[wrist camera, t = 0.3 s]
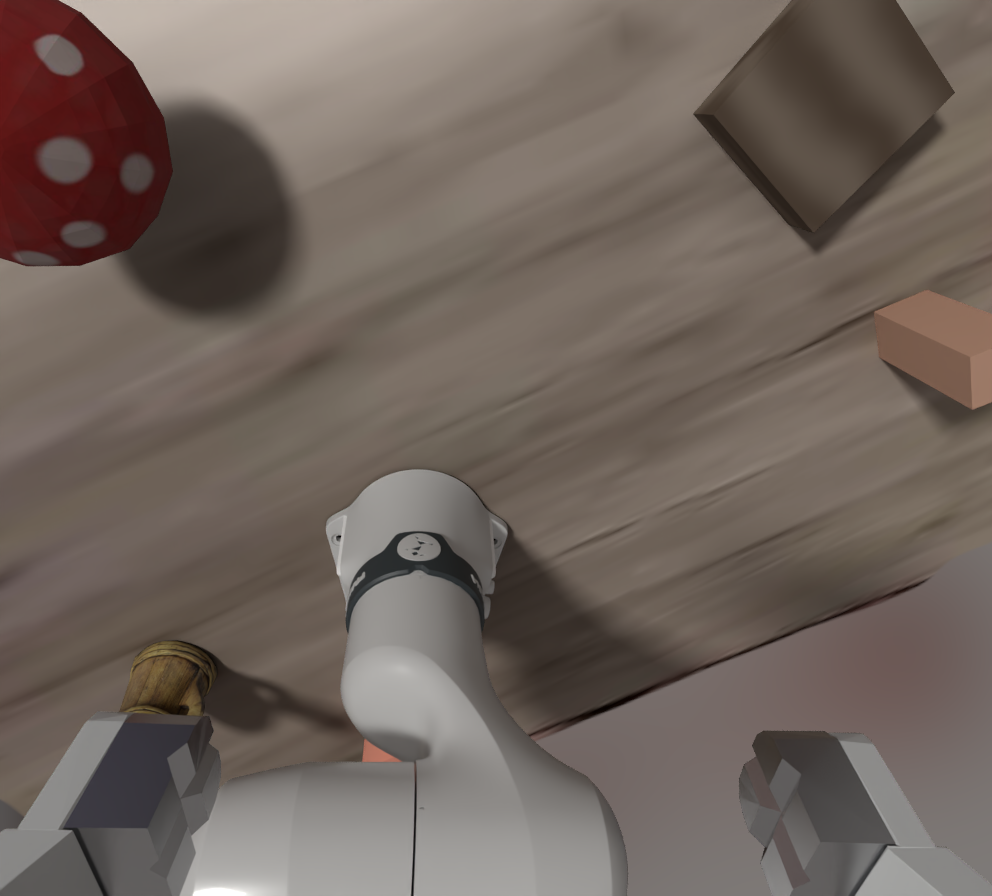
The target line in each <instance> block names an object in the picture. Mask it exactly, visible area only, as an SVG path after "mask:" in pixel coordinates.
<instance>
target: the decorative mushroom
mask: <svg viewBox="0 0 992 896" xmlns="http://www.w3.org/2000/svg"><path fill="white" fill-rule="evenodd" d="M172 172H173V170H172V164H171V158H170V152H169V146H168V140H167V133H166V127H165V121H164V117H163V115H162V114H161V112H160V110H159V108H158V106H157V105H156V103H155V101H154V99H153V98H152V96H151V94H150V92H149V91H148V89H147V87H146V85H145V83H144V82H143V80H142V78H141V76H140V75H139V73H138V71H137V69H136V67H135V66H134V64H133V62H132V61H131V60H130V59H129V58H128V57H127V56H125V55H124V54H123V53H122V52H121V51H120V50H119V49H118V48H117V47H116V46H115V45H114V44H113V43H112V42H111V41H110V40H109V39H108V38H107V37H106V36H105V35H104V34H103V33H102V32H101V31H100V30H99V29H98V28H97V27H96V26H95V25H94V24H93V23H91V22H90V21H89V20H88V19H87V18H86V17H85V16H84V15H83V14H82V13H81V12H79V11H77V10H75V9H73V8H72V7H70V6H68V5H66V4H64V3H63V2H61V1H59V0H0V258H2V259H5V260H8V261H12V262H15V263H18V264H21V265H25V266H80V265H83V264H86V263H89V262H92V261H95V260H98V259H101V258H104V257H107V256H110V255H113V254H116V253H119V252H122V251H125V250H128V249H130V248H131V247H132V245H133V244H134V243H135V242H136V241H137V240H138V238H139V237H140V236H141V235H142V234H143V232H144V231H145V230H146V229H147V228H148V227H149V225H150V224H151V223H152V222H153V221H154V220H155V218H156V217H157V216H158V214H159V211H160V208H161V205H162V202H163V199H164V196H165V193H166V190H167V187H168V184H169V181H170V178H171V175H172Z"/></svg>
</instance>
